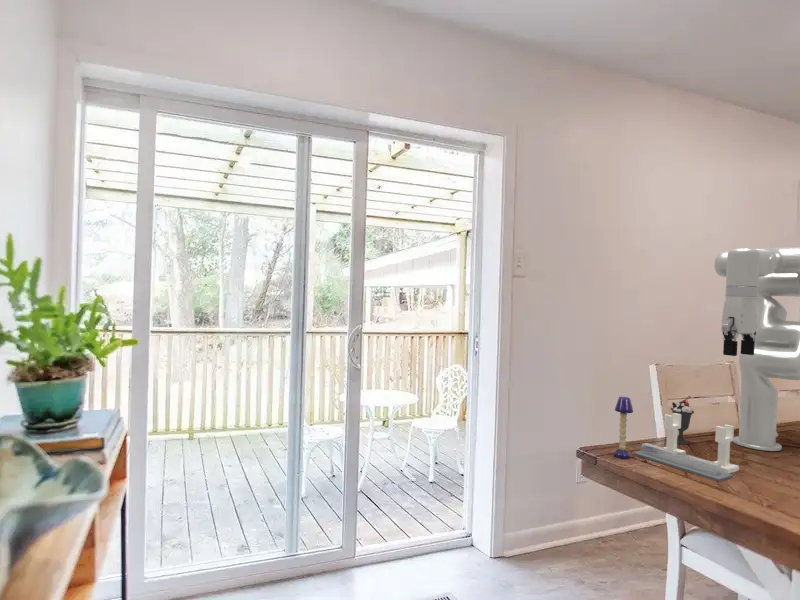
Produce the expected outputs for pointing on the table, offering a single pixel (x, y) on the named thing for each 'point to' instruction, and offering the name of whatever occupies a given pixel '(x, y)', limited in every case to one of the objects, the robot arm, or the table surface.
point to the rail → (682, 459)
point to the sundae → (683, 418)
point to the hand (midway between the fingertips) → (738, 354)
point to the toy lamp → (623, 425)
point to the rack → (722, 437)
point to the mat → (717, 478)
